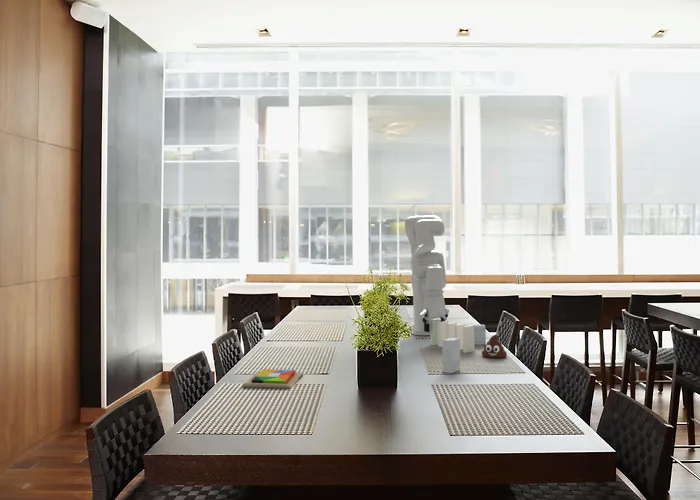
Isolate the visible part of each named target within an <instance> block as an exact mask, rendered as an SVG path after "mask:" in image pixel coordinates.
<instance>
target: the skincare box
mask: <svg viewBox="0 0 700 500" xmlns="http://www.w3.org/2000/svg"><path fill="white" fill-rule="evenodd" d="M441 350H442V353H441V354H442V356H441V357H442V362H441V363H442V364H441V365H442V366H441V367H442V373H446V374H454V373H456V372H459V371H461V350H460V339H459V338H448V339H445V340H442V347H441Z"/></svg>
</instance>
